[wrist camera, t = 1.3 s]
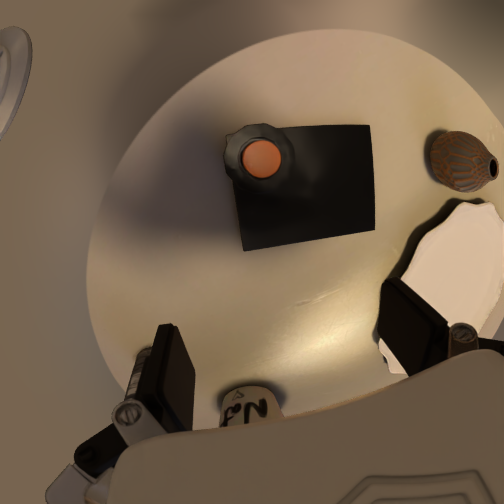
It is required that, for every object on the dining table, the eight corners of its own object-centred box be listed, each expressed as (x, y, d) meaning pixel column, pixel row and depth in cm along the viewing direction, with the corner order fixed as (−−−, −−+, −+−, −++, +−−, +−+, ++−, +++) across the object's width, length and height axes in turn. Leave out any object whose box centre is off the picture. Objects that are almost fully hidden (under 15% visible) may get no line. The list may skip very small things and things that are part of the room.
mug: (265, 367, 33) (278, 430, 24) (304, 415, 38) (319, 463, 29) (198, 394, 34) (196, 453, 25) (249, 435, 39) (255, 482, 30)
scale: (219, 131, 23) (219, 129, 20) (365, 121, 23) (377, 119, 21) (238, 249, 27) (240, 259, 24) (371, 227, 27) (382, 234, 25)
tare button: (239, 143, 21) (240, 142, 20) (275, 139, 21) (278, 138, 20) (244, 178, 22) (245, 180, 21) (279, 173, 22) (283, 175, 21)
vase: (463, 162, 26) (513, 173, 17) (438, 196, 27) (489, 215, 19) (440, 119, 23) (493, 120, 15) (412, 153, 25) (468, 162, 17)
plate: (444, 155, 25) (457, 157, 23) (514, 246, 32) (522, 251, 30) (333, 353, 33) (339, 365, 31) (437, 372, 40) (443, 379, 38)
